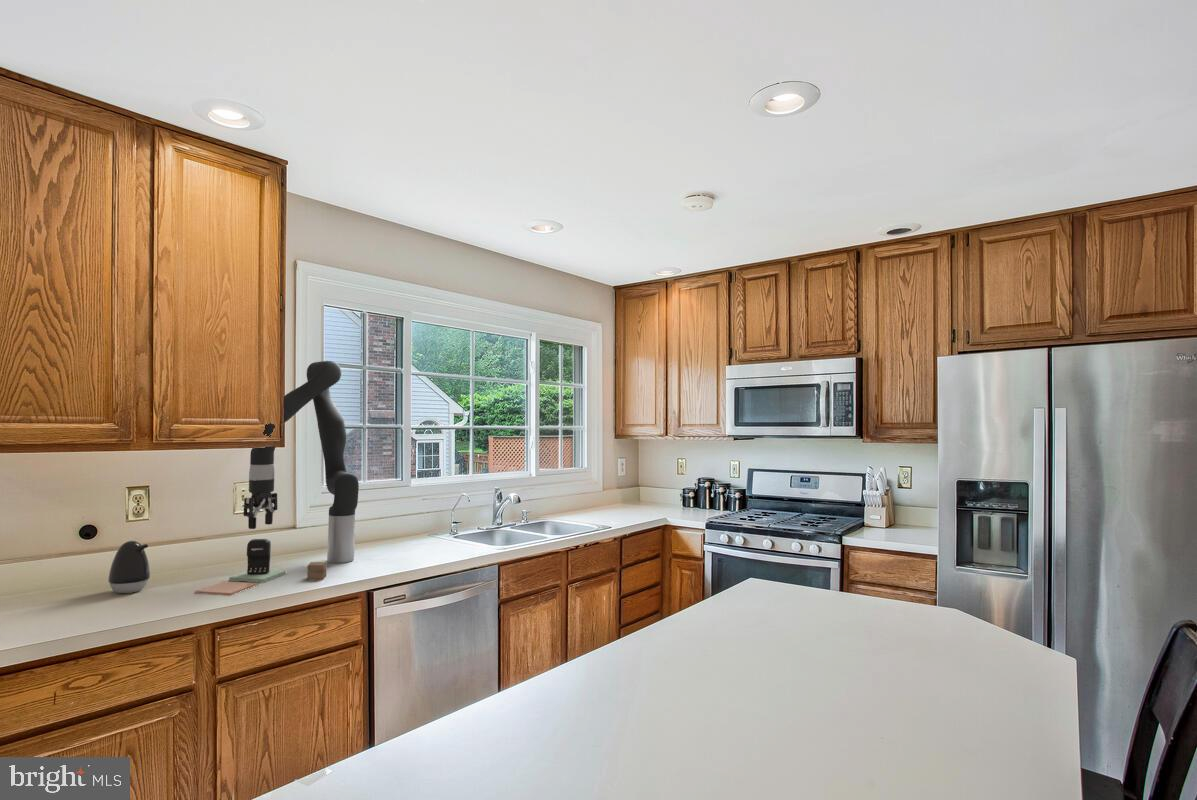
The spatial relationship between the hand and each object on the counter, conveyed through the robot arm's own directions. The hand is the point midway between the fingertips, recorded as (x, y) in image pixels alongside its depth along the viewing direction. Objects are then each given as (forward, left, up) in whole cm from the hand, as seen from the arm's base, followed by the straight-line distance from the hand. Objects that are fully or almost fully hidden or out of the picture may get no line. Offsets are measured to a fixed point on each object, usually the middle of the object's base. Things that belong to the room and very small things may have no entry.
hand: (260, 526), depth 214 cm
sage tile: (0, 0, -17) cm, 17 cm away
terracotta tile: (+15, 0, -18) cm, 23 cm away
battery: (0, 0, -16) cm, 16 cm away
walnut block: (-3, +19, -17) cm, 26 cm away
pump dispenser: (+23, -26, -17) cm, 39 cm away
